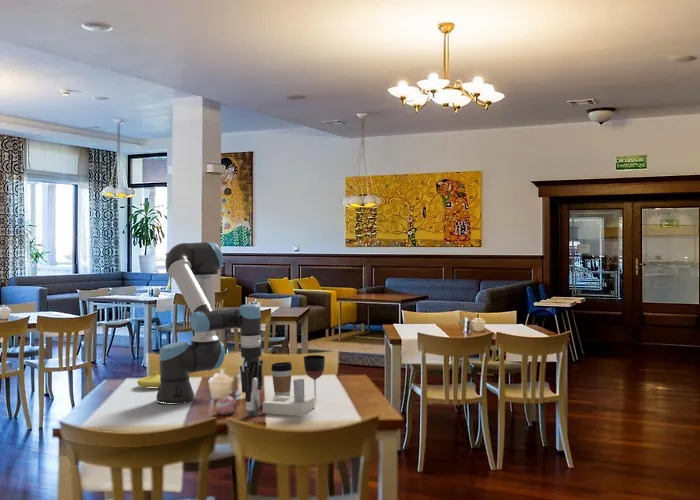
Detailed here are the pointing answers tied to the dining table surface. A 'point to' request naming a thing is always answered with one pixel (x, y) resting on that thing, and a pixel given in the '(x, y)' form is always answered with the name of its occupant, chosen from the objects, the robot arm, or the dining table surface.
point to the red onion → (226, 405)
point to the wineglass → (314, 369)
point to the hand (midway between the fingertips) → (252, 408)
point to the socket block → (290, 402)
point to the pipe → (254, 398)
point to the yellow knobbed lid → (150, 380)
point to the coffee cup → (282, 378)
